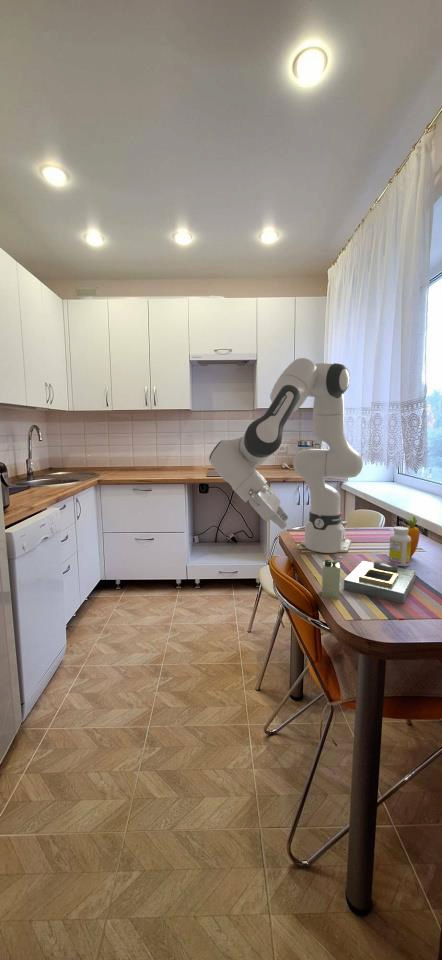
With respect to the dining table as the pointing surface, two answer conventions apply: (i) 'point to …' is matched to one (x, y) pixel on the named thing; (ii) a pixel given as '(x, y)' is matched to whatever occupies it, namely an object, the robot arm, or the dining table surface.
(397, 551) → the supplement bottle
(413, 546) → the carrot
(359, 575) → the grey base plate
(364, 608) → the dining table surface
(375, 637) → the dining table surface
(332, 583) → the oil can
